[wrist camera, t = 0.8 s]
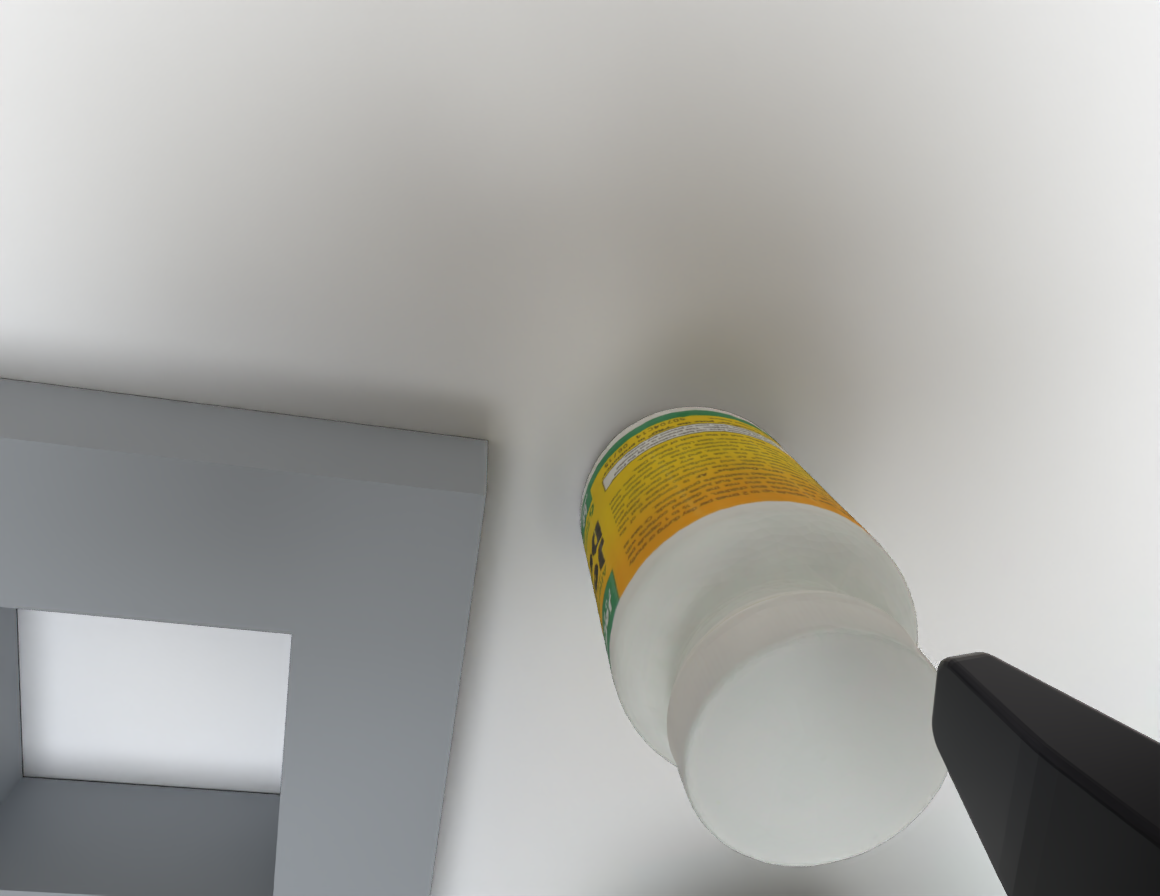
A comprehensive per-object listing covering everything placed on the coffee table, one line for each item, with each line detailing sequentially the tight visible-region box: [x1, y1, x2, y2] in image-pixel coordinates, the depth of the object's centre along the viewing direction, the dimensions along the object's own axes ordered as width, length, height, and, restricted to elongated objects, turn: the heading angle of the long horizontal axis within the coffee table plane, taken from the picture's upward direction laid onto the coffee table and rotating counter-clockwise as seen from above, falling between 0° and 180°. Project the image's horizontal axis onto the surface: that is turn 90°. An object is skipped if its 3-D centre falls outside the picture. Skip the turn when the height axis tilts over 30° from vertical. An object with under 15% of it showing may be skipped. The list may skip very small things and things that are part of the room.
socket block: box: [0, 378, 488, 896], centre depth 20 cm, size 14×14×4 cm
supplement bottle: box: [580, 407, 948, 866], centre depth 17 cm, size 5×5×10 cm
